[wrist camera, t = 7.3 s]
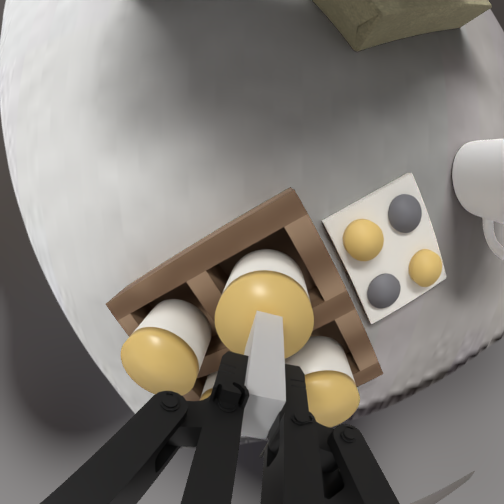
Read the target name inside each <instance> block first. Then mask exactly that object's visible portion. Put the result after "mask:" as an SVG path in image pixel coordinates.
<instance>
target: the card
mask: <svg viewBox="0 0 504 504" xmlns="http://www.w3.org/2000/svg"><path fill="white" fill-rule="evenodd" d="M322 223H323V225H324V227H325V229H326V230H327V232H328V234H329V236H330V238H331V240H332V242H333V244H334V246H335V248H336V250H337V252H338V254H339V256H340V258H341V260H342V262H343V265H344V267H345V269H346V271H347V273H348V275H349V277H350V279H351V281H352V284H353V286H354V288H355V290H356V292H357V295H358V297H359V299H360V301H361V303H362V306H363V308H364V310H365V313H366V315H367V317H368V320H369V321H370V323H371V324H373V323H375V322H377V321H378V320H380V319H382V318H384V317H386V316H387V315H389V314H391V313H392V312H394V311H396V310H397V309H399V308H401V307H402V306H404V305H406V304H407V303H409V302H411V301H412V300H414V299H415V298H417V297H419V296H420V295H422V294H423V293H425V292H426V291H428V290H429V289H431V288H432V287H434V286H435V285H437V284H438V283H440V282H441V281H443V280H444V279H445V278H447V277H446V273H445V269H444V265H443V261H442V257H441V253H440V250H439V246H438V243H437V240H436V236H435V233H434V230H433V227H432V224H431V221H430V218H429V215H428V212H427V209H426V207H425V204H424V201H423V199H422V196H421V194H420V191H419V189H418V186H417V184H416V181H415V179H414V176H413V174H412V173H406V174H404V175H403V176H401V177H399V178H397V179H396V180H394V181H392V182H390V183H388V184H387V185H385V186H383V187H381V188H379V189H378V190H376V191H374V192H372V193H370V194H369V195H367V196H365V197H363V198H361V199H360V200H358V201H356V202H354V203H352V204H351V205H349V206H347V207H345V208H343V209H342V210H340V211H338V212H336V213H334V214H333V215H331V216H329V217H327V218H325V219H324V220H322Z"/></svg>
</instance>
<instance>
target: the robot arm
mask: <svg viewBox="0 0 504 504" xmlns="http://www.w3.org/2000/svg"><path fill="white" fill-rule="evenodd" d="M268 434H269V436H268V443H267V444H266V446H265V448H264V450H263V451H262V453H261V455H260V458H262V457H263V456H264V466H263V478H262V492H261V504H399V502H398V500H397V498H396V496H395V494H394V492H393V491H392V489H391V487H390V485H389V483H388V481H387V480H386V478H385V476H384V474H383V472H382V470H381V468H380V467H379V465H378V463H377V461H376V459H375V458H374V456H373V454H372V452H371V450H370V448H369V446H368V445H367V443H366V441H365V439H364V437H363V436H362V434H361V432H360V431H359V430H358V429H357V428H355V427H354V426H351V425H348V424H342V425H339V426H337V427H336V428H335V429H332V428H329V427H326V426H324V425H321V424H319V423H318V422H316V420H315V417H314V415H313V414H312V413H311V412H309V408H308V399H307V390H306V383H305V374H304V372H303V371H302V369H301V368H300V366H295V365H290V364H285V358H284V336H283V317H281V316H277V315H273V314H269V313H265V312H261V311H256V314H255V318H254V321H253V324H252V328H251V331H250V334H249V337H248V341H247V344H246V347H245V352H244V355H242V354H238V353H234V352H230V351H228V352H226V353H225V354H224V355H223V356H222V359H221V362H220V366H219V369H218V373H217V376H216V380H215V383H214V386H213V388H212V392H211V395H210V396H209V397H208V398H206V399H204V400H201V401H186V400H185V398H184V397H183V396H181V395H180V394H179V393H176V392H173V391H162V392H158V393H157V394H155V395H154V396H153V397H152V398H151V399H150V400H149V401H148V402H147V403H146V404H145V405H144V406H143V407H142V408H141V409H140V410H139V411H138V412H137V413H136V414H135V415H134V416H133V417H132V418H131V419H130V420H129V421H128V422H127V423H126V424H125V425H124V426H123V427H122V428H121V429H120V430H119V431H118V432H117V433H116V434H115V435H114V436H113V437H112V438H111V439H110V440H109V441H108V442H107V443H105V445H103V446H102V447H101V448H100V449H99V450H98V451H97V452H96V453H95V454H94V455H93V456H92V457H91V458H90V459H89V460H88V461H86V463H84V464H83V465H82V466H81V467H80V468H79V469H78V470H77V471H76V472H75V473H74V474H73V475H71V476H70V477H69V478H68V479H67V480H66V481H65V482H64V483H63V484H62V485H61V486H60V487H58V488H57V489H56V490H55V491H54V492H53V493H52V494H50V496H48V497H47V498H46V499H45V500H44V501H43V502H41V503H40V504H137V502H138V501H139V500H140V499H141V497H142V496H143V495H144V494H145V493H146V491H147V490H148V489H149V487H150V486H151V485H152V484H153V482H154V481H155V480H156V479H157V477H158V476H159V475H160V473H161V472H162V471H163V469H164V468H165V467H166V466H167V464H168V463H169V461H170V460H171V459H172V458H173V456H174V455H175V454H176V452H177V451H178V449H179V448H180V447H181V446H192V447H196V451H195V454H194V458H193V461H192V465H191V469H190V473H189V476H188V479H187V483H186V487H185V491H184V494H183V498H182V501H181V504H231V499H232V492H233V485H234V478H235V471H236V465H237V458H238V450H239V443H240V436H241V435H243V436H248V437H253V438H259V439H266V437H267V435H268Z"/></svg>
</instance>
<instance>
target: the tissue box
mask: <svg viewBox="0 0 504 504" xmlns="http://www.w3.org/2000/svg"><path fill="white" fill-rule="evenodd" d="M312 1H313V2H314V3H315V4H316V5H317V6H318V7H319V8H320V9H321V11H322V12H323V13H324V14H325V15H326V16H327V17H328V19H329V20H330V21H331V22H332V23H333V24H334V26H335V27H336V28H337V29H338V30H339V32H340V33H341V34H342V35H343V37H344V38H345V39H346V41H347V42H348V43H349V45H350V46H351V47H352V49H353V50H354V51H356V52H358V51H361V50H364V49H367V48H370V47H374V46H377V45H380V44H384V43H387V42H391V41H395V40H399V39H403V38H407V37H411V36H416V35H420V34H425V33H430V32H436V31H442V30H448V29H455V28H460V27H462V26H463V25H465V24H466V23H468V22H469V21H471V20H473V19H474V18H476V17H477V16H479V15H480V14H482V13H484V12H485V11H487V10H488V9H490V8H491V7H492V5H491V4H490V2H489V1H488V0H312Z"/></svg>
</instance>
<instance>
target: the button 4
mask: <svg viewBox="0 0 504 504" xmlns="http://www.w3.org/2000/svg"><path fill="white" fill-rule="evenodd" d="M285 364H290V365H295V366H300V368H301V369H302V371H303V372H304V374H305V383H306V390H307V399H308V408H309V412H311V413H312V414H313V415H314V417H315V420H316V422H318V423H319V424H321V425H324V426H326V427H329V428H330V427H333V426H336V425H338V424H340V423H342V422H344V421H345V420H347V419H348V418H349V417H350V416H351V415H353V413H354V412H355V411H356V409H357V408H358V405H359V402H360V397H359V393H358V390H357V387H356V384H355V381H354V378H353V375H352V372H351V369H350V366H349V363H348V360H347V357H346V354H345V352H344V349H343V347H342V346H341V345H340V343H338V342H337V341H336V340H334V339H332V338H329V337H326V336H311V337H310V338H309V340H308V341H307V343H306V344H305V345H304V346H303V347H302V348H301V349H300V350H299V351H298V352H297V353H295V354H293V355H292V356H290V357H288V358H285Z"/></svg>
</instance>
